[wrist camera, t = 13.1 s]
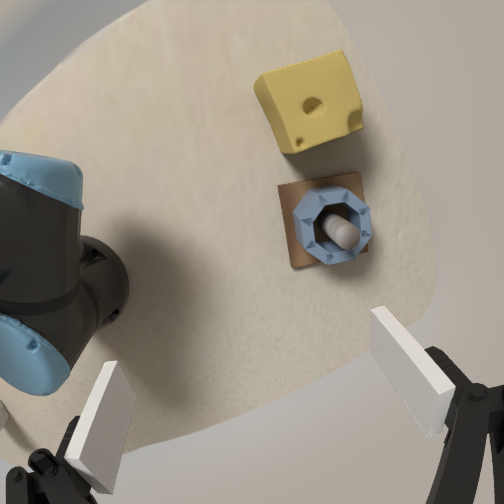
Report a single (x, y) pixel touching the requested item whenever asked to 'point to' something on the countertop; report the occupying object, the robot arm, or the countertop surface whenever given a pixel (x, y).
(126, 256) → the countertop surface
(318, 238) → the post
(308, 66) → the cheese
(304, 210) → the ring
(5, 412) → the small box
